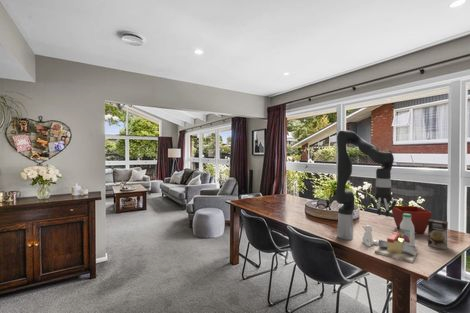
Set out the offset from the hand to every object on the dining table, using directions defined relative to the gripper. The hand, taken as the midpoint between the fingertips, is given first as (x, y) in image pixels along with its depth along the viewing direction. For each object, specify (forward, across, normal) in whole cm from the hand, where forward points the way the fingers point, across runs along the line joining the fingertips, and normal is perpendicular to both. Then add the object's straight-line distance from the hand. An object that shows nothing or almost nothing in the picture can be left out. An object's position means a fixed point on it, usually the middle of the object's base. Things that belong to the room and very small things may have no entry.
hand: (383, 215), depth 134 cm
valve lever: (+14, +4, +2) cm, 15 cm away
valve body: (+22, +4, +8) cm, 23 cm away
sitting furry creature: (+23, -12, +13) cm, 29 cm away
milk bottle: (+23, +6, +28) cm, 37 cm away
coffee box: (+23, +20, +39) cm, 50 cm away
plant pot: (+23, +2, +64) cm, 68 cm away
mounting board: (+23, +4, +8) cm, 25 cm away
